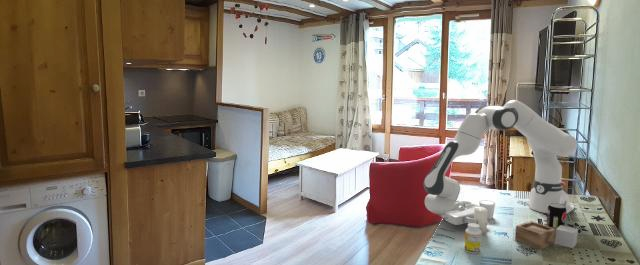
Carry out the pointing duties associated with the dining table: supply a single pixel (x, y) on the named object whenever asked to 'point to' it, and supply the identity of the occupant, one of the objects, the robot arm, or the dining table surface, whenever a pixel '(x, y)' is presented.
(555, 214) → the beverage can
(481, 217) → the white pillar candle
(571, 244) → the grey block
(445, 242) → the dining table surface
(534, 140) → the robot arm
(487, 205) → the shot glass
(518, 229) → the brown wooden open box
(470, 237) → the supplement bottle
